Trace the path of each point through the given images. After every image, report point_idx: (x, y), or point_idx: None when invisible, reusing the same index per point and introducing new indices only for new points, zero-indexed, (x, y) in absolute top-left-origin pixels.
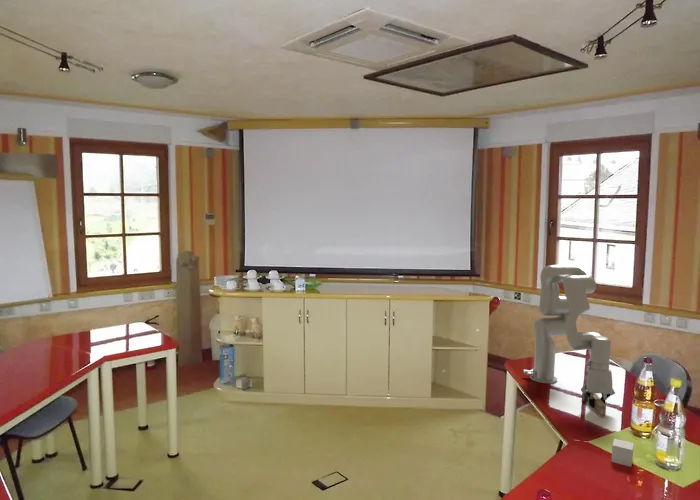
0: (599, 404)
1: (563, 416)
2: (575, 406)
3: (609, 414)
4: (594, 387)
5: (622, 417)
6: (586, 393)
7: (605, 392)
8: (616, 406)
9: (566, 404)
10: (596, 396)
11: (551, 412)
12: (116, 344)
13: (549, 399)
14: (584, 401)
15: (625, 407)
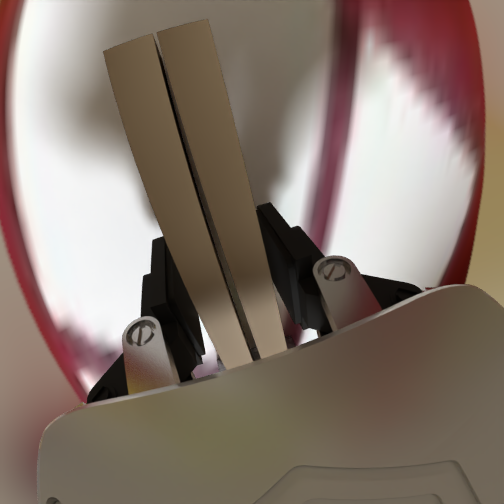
0: (222, 85)
1: (446, 30)
2: (361, 238)
3: (103, 206)
4: (458, 413)
5: (11, 201)
6: (419, 290)
7: (130, 417)
8: (102, 367)
9: (401, 243)
10: (249, 360)
11: (482, 84)
12: None
13: (445, 265)
14: (289, 339)
15: (62, 371)
